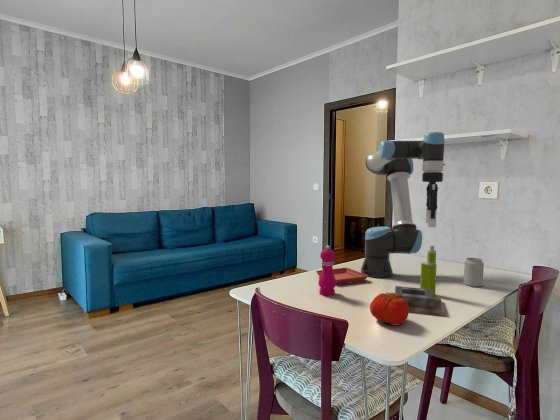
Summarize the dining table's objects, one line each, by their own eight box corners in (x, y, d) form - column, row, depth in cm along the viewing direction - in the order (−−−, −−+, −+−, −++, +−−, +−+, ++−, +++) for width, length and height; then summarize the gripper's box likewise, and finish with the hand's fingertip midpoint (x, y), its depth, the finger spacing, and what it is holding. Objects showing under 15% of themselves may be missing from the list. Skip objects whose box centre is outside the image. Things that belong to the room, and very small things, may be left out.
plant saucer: (315, 277, 173) (315, 270, 173) (346, 273, 181) (346, 266, 181) (335, 287, 157) (335, 279, 157) (369, 282, 164) (369, 275, 164)
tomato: (365, 314, 124) (365, 290, 124) (400, 314, 125) (401, 290, 124) (375, 329, 112) (376, 302, 111) (415, 329, 112) (416, 302, 111)
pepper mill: (324, 297, 142) (325, 247, 140) (314, 292, 148) (315, 244, 147) (339, 294, 145) (340, 246, 144) (329, 290, 152) (329, 243, 150)
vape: (433, 297, 143) (435, 247, 142) (418, 293, 148) (420, 245, 146) (437, 295, 146) (439, 246, 144) (422, 291, 150) (424, 244, 148)
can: (466, 281, 165) (468, 256, 164) (484, 285, 160) (486, 258, 159) (461, 285, 160) (462, 258, 159) (479, 288, 155) (480, 261, 154)
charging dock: (384, 309, 129) (384, 295, 129) (386, 295, 144) (386, 283, 144) (445, 316, 123) (445, 302, 122) (440, 301, 138) (440, 288, 137)
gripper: (446, 171, 130) (444, 229, 131) (439, 172, 153) (437, 222, 155) (424, 171, 132) (422, 228, 134) (420, 172, 156) (419, 221, 157)
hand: (430, 225), depth 144 cm, fingers open, 13 cm apart
